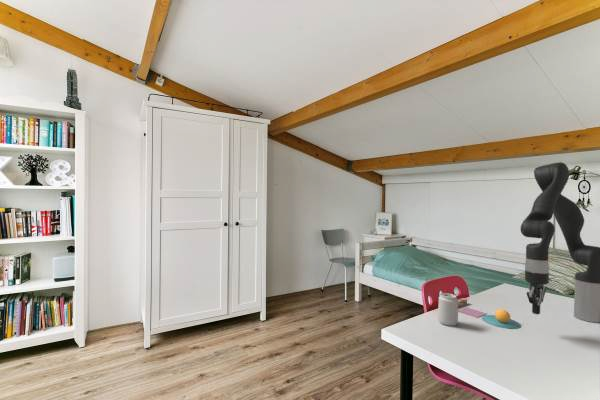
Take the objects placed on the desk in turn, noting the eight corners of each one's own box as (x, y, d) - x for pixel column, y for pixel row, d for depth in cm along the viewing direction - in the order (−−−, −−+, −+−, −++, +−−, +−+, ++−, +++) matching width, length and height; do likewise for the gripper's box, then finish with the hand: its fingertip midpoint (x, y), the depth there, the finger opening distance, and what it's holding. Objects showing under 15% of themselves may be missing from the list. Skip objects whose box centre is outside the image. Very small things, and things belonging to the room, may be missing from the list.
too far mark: (467, 307, 146) (467, 307, 146) (487, 314, 139) (487, 313, 139) (457, 311, 141) (457, 310, 141) (477, 317, 134) (477, 317, 134)
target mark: (490, 313, 140) (490, 312, 140) (526, 324, 128) (526, 323, 128) (475, 319, 132) (475, 318, 132) (511, 331, 121) (511, 331, 121)
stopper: (462, 302, 154) (463, 297, 154) (466, 303, 152) (467, 299, 152) (440, 309, 143) (440, 304, 143) (444, 311, 141) (444, 305, 141)
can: (453, 320, 131) (454, 292, 131) (460, 327, 123) (461, 298, 123) (435, 319, 131) (436, 291, 131) (441, 326, 124) (442, 297, 124)
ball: (501, 306, 133) (514, 312, 128) (499, 318, 133) (512, 324, 128) (493, 307, 131) (506, 312, 126) (491, 319, 131) (504, 325, 126)
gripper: (531, 266, 127) (531, 307, 127) (518, 270, 119) (518, 314, 119) (554, 270, 120) (553, 313, 120) (542, 274, 113) (541, 320, 113)
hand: (536, 313), depth 120 cm, fingers closed
